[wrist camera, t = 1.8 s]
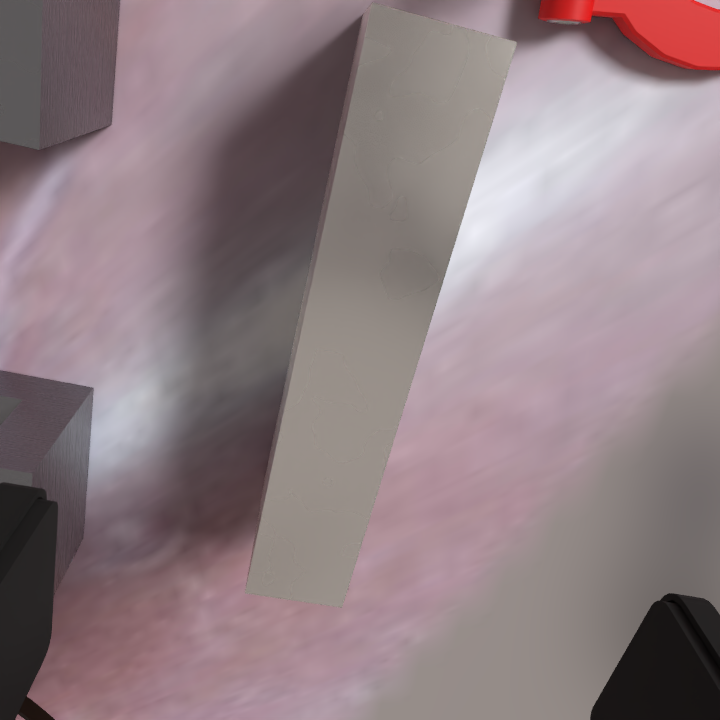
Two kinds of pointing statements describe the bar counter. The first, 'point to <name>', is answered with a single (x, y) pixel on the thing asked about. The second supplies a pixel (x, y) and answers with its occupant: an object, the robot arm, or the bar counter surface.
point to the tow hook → (652, 26)
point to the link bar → (371, 289)
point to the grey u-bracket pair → (38, 131)
